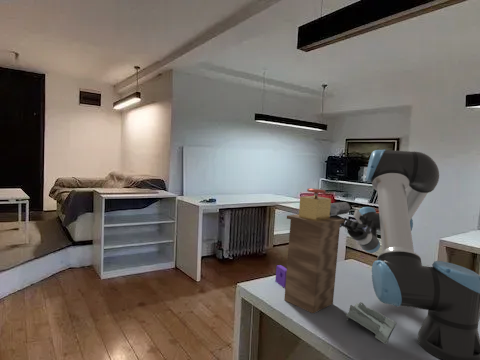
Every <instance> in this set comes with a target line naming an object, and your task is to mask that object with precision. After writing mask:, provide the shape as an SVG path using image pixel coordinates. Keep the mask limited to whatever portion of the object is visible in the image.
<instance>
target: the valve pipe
mask: <svg viewBox="0 0 480 360" xmlns="http://www.w3.org/2000/svg"><path fill="white" fill-rule="evenodd" d="M306 190H307V191H306V192H308V193H314V194H313V195H310V196H309V195H307V196H306V195H305V196H300V197H299V208H298V214H299V217H301V218H305V219H310V220H314V221H319V220H325V219H329V217H330V216H334V215H338V216H340V215H346V214H348V213H349V212H350V211H351V206H350V204H349V203H348V202H345V201H343V202H342V201H341V202H333V203H332V198H329V197H323V196H318V194H325V193H326V190H325V189H323V188H307V189H306Z"/></svg>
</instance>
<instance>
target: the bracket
mask: <svg viewBox="0 0 480 360" xmlns="http://www.w3.org/2000/svg"><path fill="white" fill-rule="evenodd" d="M286 273H287V267H285V266H283V265H281V264H279V265H276V269H275V282H276V283H277V284H278V285H280V286H281V287H283V289H285V285H286Z"/></svg>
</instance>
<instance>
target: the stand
mask: <svg viewBox="0 0 480 360" xmlns="http://www.w3.org/2000/svg"><path fill="white" fill-rule="evenodd" d="M286 219H287V220H290V223H289V224H290V226H289V238H288V250H287V262H286V263H287V264H286V269H287V273H286V285H285V288H284V298H283V299H284V301H285V302H288V303H290V304H292V305H294V306H296V307H298V308H301V309H302V310H305V311H307V312H309V313H311V314H314V313H317V312H319V311H321V310H323V309H325V308H327V307H329V306H331V305H333V304H334V296H335V283H336V272H337V262H338V261H337V260H338V251H339V241H340V239H339V238H340V232H341V231H340V230H341V229H340V228H341V227H340V223H344V222H346V220H343V219H338V218H333V217H329V219H325V220H319V221H314V220H310V219H305V218H301V217H299V213H298V214H290V215H289V214H288V215H286Z"/></svg>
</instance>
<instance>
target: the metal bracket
mask: <svg viewBox="0 0 480 360" xmlns="http://www.w3.org/2000/svg"><path fill="white" fill-rule="evenodd" d="M348 309H349V310H348V313H346V314H345V317H347V319H346V321H349V319H351V320H353V321H355V323H358V324H360V326H362V327H364V328H366V329H367V330H369V331H370V332H372V333H374V334H375V336H374V338H375V339H377V340H378V341H379V342H381V343H383V344H386V345H387V343H388V341H389V337H390V335H391V333H392V332H393V329H394V328H395V327H396V325H397V323H396V322H395V321H394V320H392V319H391V318H389V317H386V316H385V315H384V314H382V313H381V312H379V311H377V310H376V309H373V308H370V307H367V305H365V303H363V302H362V301H360V302H359V303H357V302H356V303H355V305H352V304H351V305H350V306H349V308H348Z"/></svg>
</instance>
